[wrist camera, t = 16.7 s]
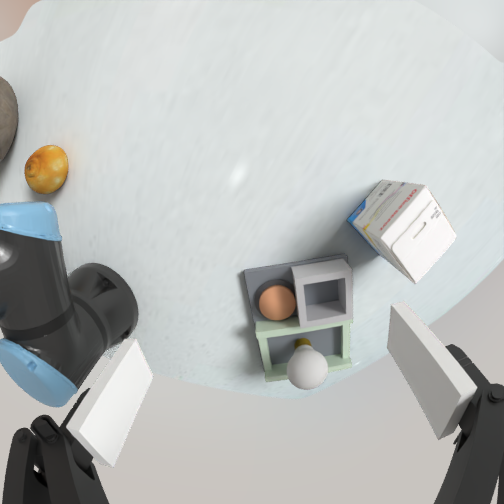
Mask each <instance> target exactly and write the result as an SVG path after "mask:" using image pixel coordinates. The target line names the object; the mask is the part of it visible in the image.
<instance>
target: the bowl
mask: <svg viewBox="0 0 504 504" xmlns="http://www.w3.org/2000/svg"><path fill="white" fill-rule="evenodd" d="M17 123H18V104H17V99H16V96H15V93H14V91H13V89H12V87H11V86H10V84H9V83H8V82H7V81H6V80H5V79H3V78H2V77H0V162H1V161H2V160H3V158H4V157H5V156H6V154H7V152H8V150H9V148H10V146H11V144H12V141H13V139H14V135H15V132H16V128H17Z"/></svg>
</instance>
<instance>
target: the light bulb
mask: <svg viewBox="0 0 504 504" xmlns="http://www.w3.org/2000/svg"><path fill="white" fill-rule="evenodd" d="M294 347H295V352H294V355H293V356H292V357H291V359H290V360H289V362H288V365H287V376H288V379H289V380H290V382H291V383H292V384H293V385H294V386H296V387H297V388H300V389H304V390H309V389H313V388H316V387H318V386H319V385H321V384H322V383H323V381H324V380H325V379H326V376H327V374H328V364H327V361H326V359H325V357H324V356H323V355H322V354H321V353H319V352H317V351H315V350H314V349H313V348H312V346H311V343H310V341H309V340H308V339H306V338H300V339H298V340H297V341H296V342H295V344H294Z"/></svg>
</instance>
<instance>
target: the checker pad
mask: <svg viewBox="0 0 504 504" xmlns="http://www.w3.org/2000/svg"><path fill="white" fill-rule="evenodd" d="M295 306H296V301H295V297H294V294H293V292H292V291H291V290H290V289H289V288H287V287H285V286H282V285H273V286H270V287H268V288H266V289H265V290H264V291H263V292H262V294H261V296H260V299H259V308H260V311H261V313H262V314H263V315H264V316H265V317H266V318H268V319H271V320H283V319H286V318H287V317H289V316H290V315H291V314H292V313H293V312H294V310H295Z"/></svg>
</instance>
